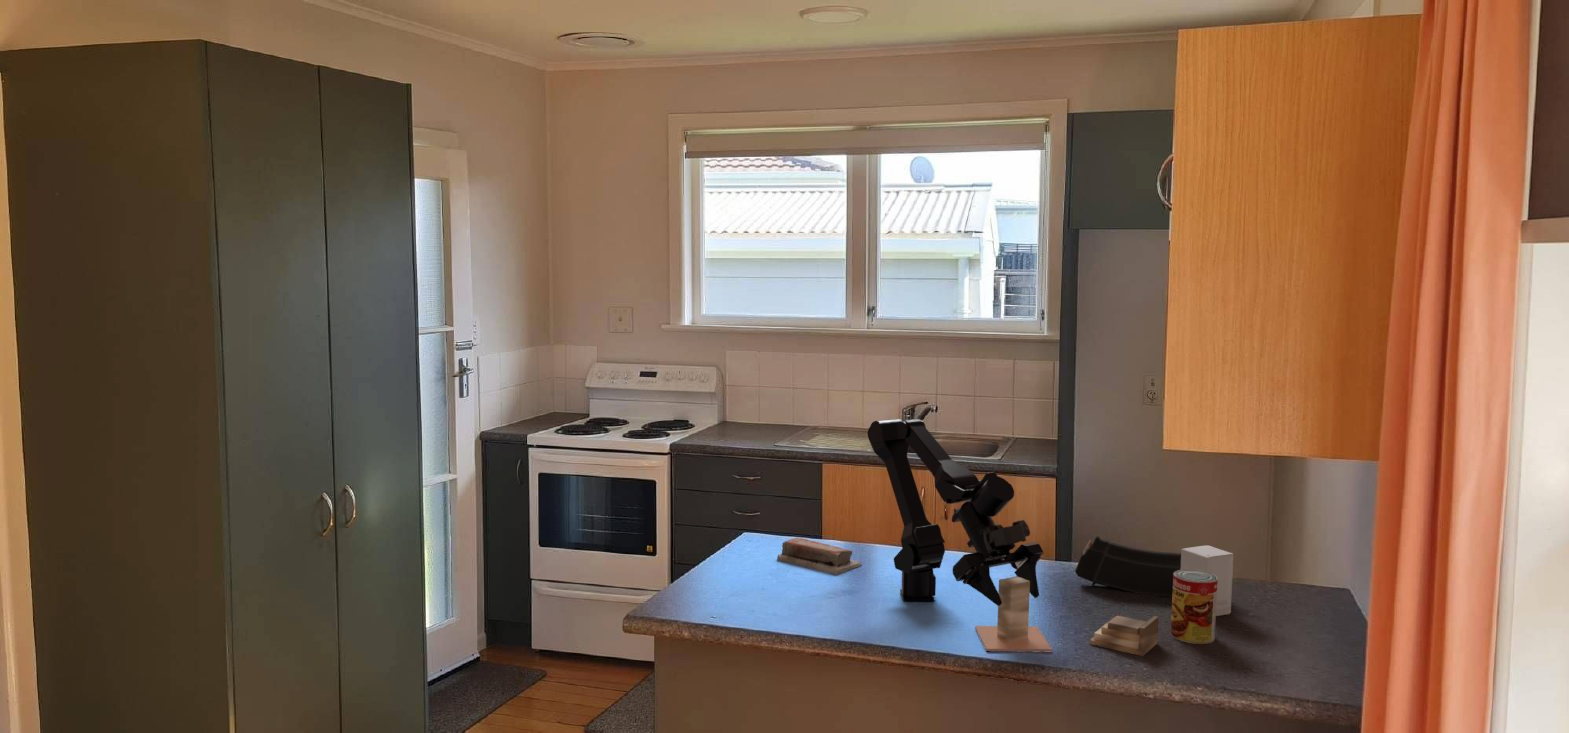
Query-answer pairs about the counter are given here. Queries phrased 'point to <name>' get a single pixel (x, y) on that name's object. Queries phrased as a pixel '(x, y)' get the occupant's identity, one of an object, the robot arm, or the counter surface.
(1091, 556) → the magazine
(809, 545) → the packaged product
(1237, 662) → the counter surface
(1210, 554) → the supplement box
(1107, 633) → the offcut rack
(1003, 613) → the tall wooden block
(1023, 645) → the tile
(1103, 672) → the counter surface
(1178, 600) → the canned food
